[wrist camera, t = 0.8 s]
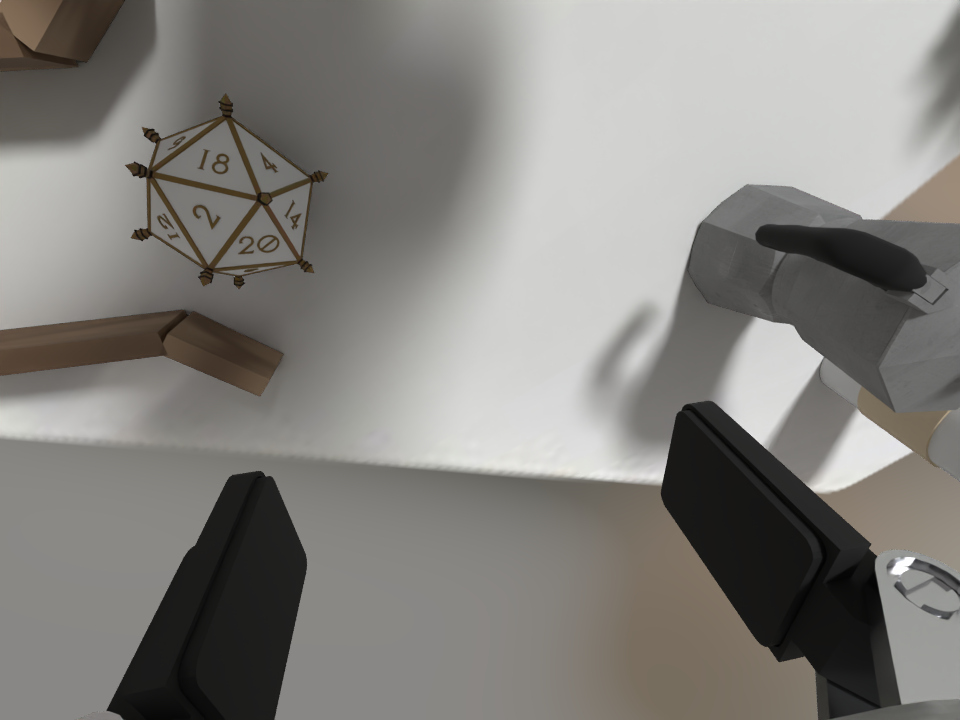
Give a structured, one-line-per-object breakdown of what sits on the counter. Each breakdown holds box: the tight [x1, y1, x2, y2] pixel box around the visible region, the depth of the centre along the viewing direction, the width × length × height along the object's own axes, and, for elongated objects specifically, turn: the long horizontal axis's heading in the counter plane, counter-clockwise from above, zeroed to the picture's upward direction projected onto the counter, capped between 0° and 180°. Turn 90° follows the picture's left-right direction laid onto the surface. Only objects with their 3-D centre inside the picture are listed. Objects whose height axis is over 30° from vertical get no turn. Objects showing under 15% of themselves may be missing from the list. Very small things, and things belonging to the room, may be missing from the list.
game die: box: [125, 94, 328, 289], centre depth 22 cm, size 9×8×10 cm
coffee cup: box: [820, 357, 960, 481], centre depth 32 cm, size 9×9×15 cm
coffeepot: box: [688, 184, 960, 413], centre depth 23 cm, size 15×9×18 cm, turn 64°
